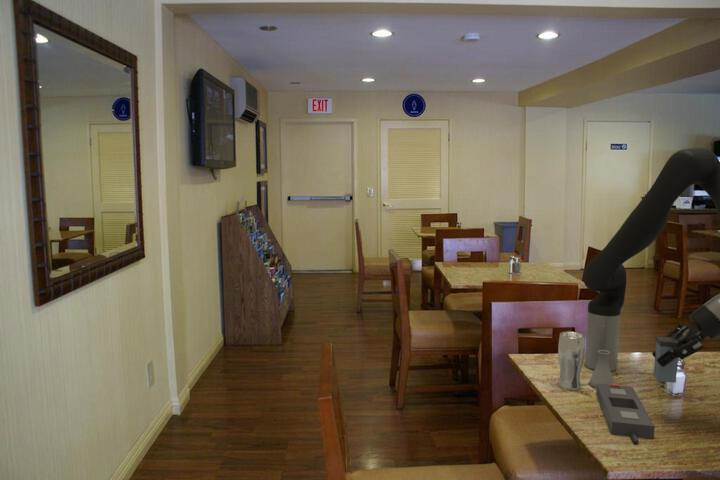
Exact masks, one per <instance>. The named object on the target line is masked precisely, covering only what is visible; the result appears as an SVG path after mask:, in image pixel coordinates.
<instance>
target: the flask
mask: <svg viewBox="0 0 720 480" xmlns="http://www.w3.org/2000/svg"><path fill="white" fill-rule="evenodd" d="M598 354H599V357H598V362H597V365H596V368H595V370H594V371H593V373H592V374H591V377H590V379H589V382H588V385H589V386H591V387H592V388H594V389H596V387H597V384H608V385H610V383H611V384H616V383H615V379H614V376H613V374H612V371H611V370H610V366H609V360H608V357H609V354H610V352H609V351H606V350H598Z"/></svg>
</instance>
